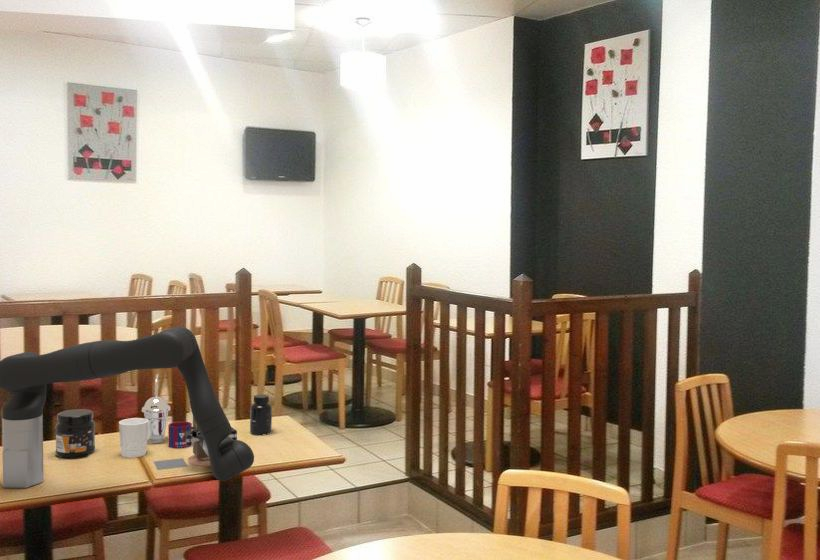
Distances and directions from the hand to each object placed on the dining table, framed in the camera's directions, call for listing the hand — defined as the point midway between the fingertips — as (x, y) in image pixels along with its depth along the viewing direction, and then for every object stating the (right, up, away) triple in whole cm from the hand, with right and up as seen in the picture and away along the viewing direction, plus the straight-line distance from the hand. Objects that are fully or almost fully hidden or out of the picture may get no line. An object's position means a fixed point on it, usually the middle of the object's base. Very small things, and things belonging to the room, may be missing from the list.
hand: (204, 429), depth 220 cm
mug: (-11, -8, +14) cm, 20 cm away
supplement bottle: (+10, -7, +30) cm, 32 cm away
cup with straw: (-20, -7, +18) cm, 28 cm away
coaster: (-8, -9, -5) cm, 13 cm away
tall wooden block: (+1, -7, -2) cm, 7 cm away
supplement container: (-38, -8, +4) cm, 39 cm away
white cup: (-21, -8, +3) cm, 23 cm away
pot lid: (+1, -9, -2) cm, 9 cm away
